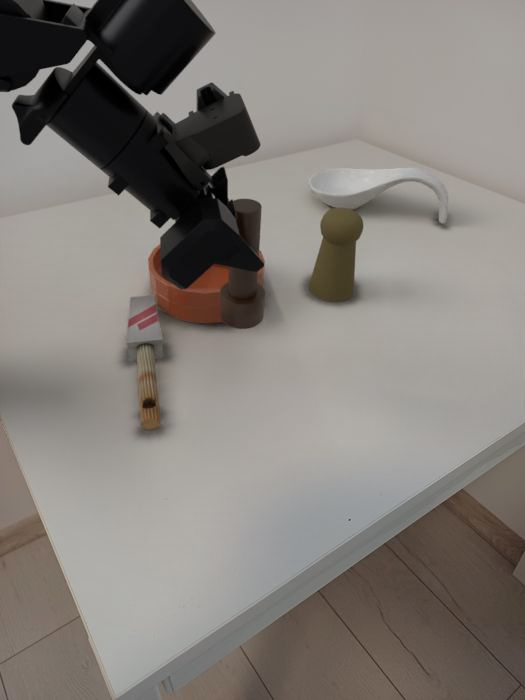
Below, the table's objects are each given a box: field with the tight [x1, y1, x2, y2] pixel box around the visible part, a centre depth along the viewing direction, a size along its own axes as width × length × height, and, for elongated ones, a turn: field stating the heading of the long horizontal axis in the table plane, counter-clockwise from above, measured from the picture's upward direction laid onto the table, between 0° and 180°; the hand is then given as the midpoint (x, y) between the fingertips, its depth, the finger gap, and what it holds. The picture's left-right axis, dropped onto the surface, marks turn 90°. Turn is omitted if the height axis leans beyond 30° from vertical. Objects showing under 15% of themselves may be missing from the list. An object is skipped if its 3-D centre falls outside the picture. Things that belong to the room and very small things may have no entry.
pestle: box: [220, 198, 266, 330], centre depth 48 cm, size 4×4×12 cm
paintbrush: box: [126, 294, 165, 431], centre depth 56 cm, size 4×3×20 cm
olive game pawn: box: [308, 208, 364, 303], centre depth 65 cm, size 6×6×11 cm
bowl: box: [147, 243, 266, 324], centre depth 65 cm, size 14×14×5 cm
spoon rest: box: [307, 167, 449, 225], centre depth 86 cm, size 24×12×7 cm, turn 74°
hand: (258, 259), depth 48 cm, fingers closed on pestle, 3 cm apart
